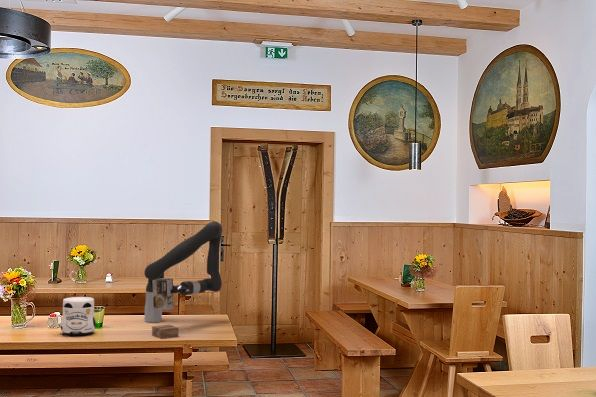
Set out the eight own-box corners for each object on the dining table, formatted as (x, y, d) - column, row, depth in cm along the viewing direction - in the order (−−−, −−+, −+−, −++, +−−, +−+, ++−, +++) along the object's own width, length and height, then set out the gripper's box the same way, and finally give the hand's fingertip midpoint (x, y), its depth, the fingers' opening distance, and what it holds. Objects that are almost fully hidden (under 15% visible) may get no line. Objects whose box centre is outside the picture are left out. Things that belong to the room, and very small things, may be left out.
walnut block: (151, 336, 367) (152, 326, 367) (169, 334, 374) (169, 324, 373) (160, 339, 360) (160, 329, 359) (178, 337, 366) (178, 327, 366)
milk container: (71, 338, 355) (72, 302, 355) (54, 333, 367) (54, 298, 367) (101, 334, 368) (102, 299, 368) (84, 329, 380) (85, 295, 380)
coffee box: (174, 308, 380) (173, 278, 379) (167, 310, 374) (167, 280, 373) (159, 307, 383) (158, 277, 383) (152, 309, 377) (152, 279, 377)
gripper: (181, 279, 396) (158, 282, 384) (198, 282, 387) (174, 285, 375) (181, 293, 396) (157, 296, 384) (198, 296, 387) (174, 299, 375)
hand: (166, 290), depth 380 cm, fingers closed on coffee box, 8 cm apart
